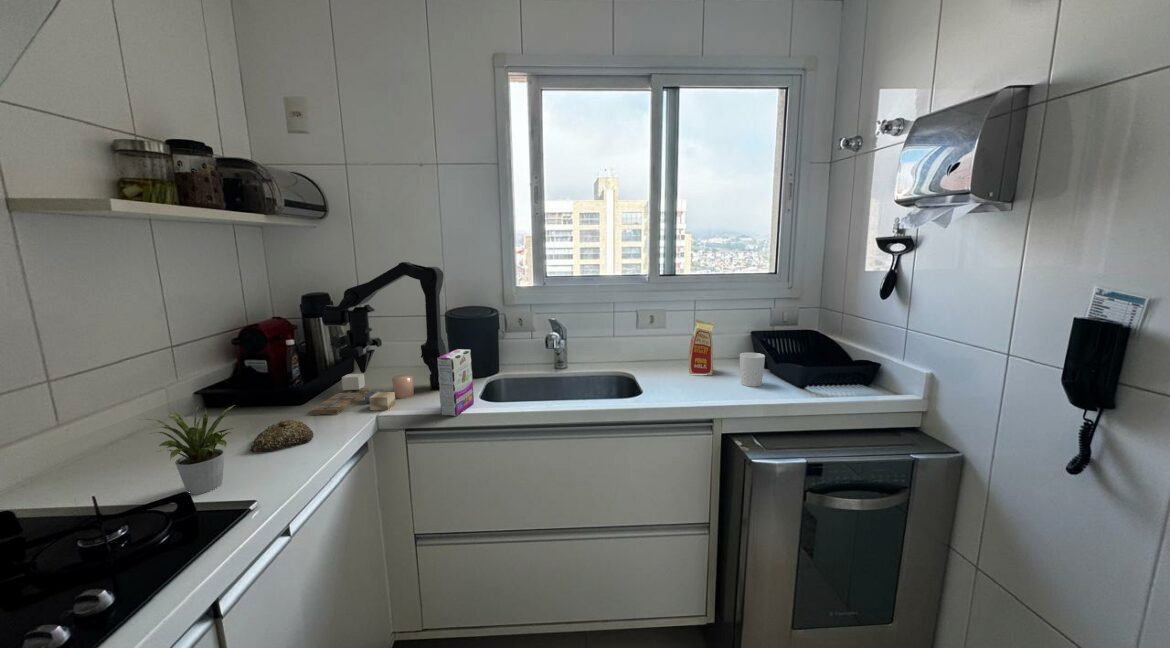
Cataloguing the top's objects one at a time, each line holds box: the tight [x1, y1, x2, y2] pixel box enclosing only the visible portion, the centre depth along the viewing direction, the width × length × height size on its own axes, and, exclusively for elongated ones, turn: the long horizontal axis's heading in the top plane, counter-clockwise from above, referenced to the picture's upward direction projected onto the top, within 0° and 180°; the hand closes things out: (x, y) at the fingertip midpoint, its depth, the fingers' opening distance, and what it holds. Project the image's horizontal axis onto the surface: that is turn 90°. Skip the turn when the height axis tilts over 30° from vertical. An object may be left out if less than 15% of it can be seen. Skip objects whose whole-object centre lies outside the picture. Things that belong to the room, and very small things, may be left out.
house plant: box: [138, 403, 236, 495], centre depth 83 cm, size 14×14×16 cm
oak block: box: [369, 391, 396, 411], centre depth 129 cm, size 5×5×4 cm
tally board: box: [310, 387, 369, 416], centre depth 133 cm, size 20×7×2 cm, turn 3°
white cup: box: [739, 351, 766, 388], centre depth 149 cm, size 8×8×10 cm
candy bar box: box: [437, 348, 475, 417], centre depth 126 cm, size 11×5×16 cm, turn 168°
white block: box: [341, 373, 366, 390], centre depth 141 cm, size 4×5×4 cm
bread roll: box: [249, 419, 314, 454], centre depth 106 cm, size 13×12×5 cm
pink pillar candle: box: [391, 374, 415, 399], centre depth 140 cm, size 6×6×6 cm
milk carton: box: [688, 318, 716, 376], centre depth 164 cm, size 9×9×20 cm
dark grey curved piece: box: [364, 389, 384, 404], centre depth 135 cm, size 5×5×3 cm
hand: (363, 372), depth 148 cm, fingers closed
